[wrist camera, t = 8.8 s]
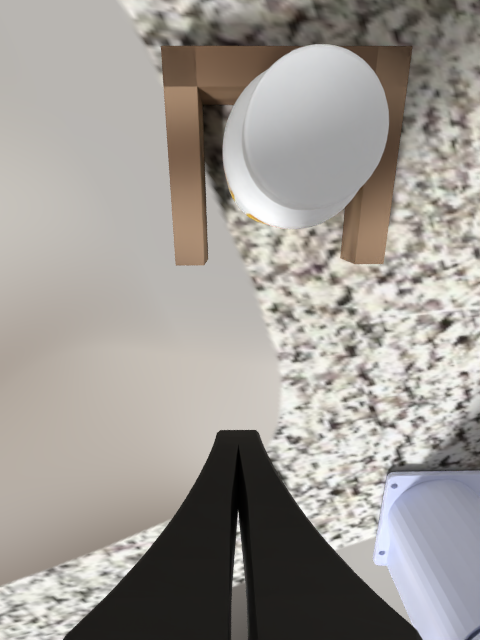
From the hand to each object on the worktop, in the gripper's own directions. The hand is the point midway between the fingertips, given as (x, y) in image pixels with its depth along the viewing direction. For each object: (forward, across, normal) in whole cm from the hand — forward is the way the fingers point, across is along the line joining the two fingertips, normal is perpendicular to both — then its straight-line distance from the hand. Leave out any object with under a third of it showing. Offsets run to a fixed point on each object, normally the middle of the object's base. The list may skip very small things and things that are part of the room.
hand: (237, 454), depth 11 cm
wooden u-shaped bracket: (+10, -2, -9) cm, 14 cm away
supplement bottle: (+11, -2, -10) cm, 15 cm away
